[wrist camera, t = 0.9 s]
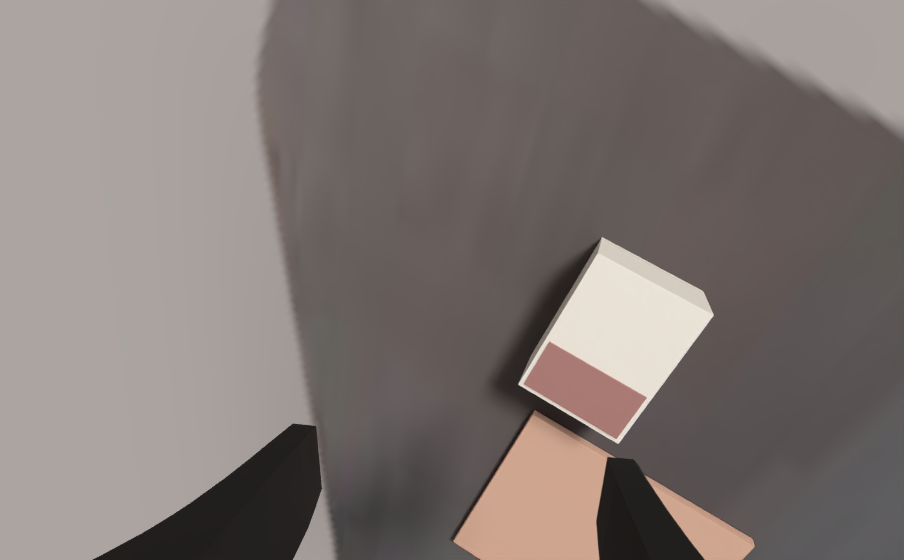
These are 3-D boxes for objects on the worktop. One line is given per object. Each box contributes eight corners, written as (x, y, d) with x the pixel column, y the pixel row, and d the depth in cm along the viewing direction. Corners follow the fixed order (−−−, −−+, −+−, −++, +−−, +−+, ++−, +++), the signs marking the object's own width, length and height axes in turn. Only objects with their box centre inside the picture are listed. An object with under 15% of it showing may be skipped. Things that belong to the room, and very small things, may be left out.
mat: (752, 538, 26) (754, 546, 25) (641, 656, 30) (641, 664, 29) (534, 409, 28) (532, 414, 27) (455, 535, 31) (453, 541, 31)
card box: (702, 290, 24) (713, 315, 21) (619, 405, 27) (618, 444, 23) (602, 236, 25) (597, 253, 21) (531, 354, 27) (517, 385, 24)
